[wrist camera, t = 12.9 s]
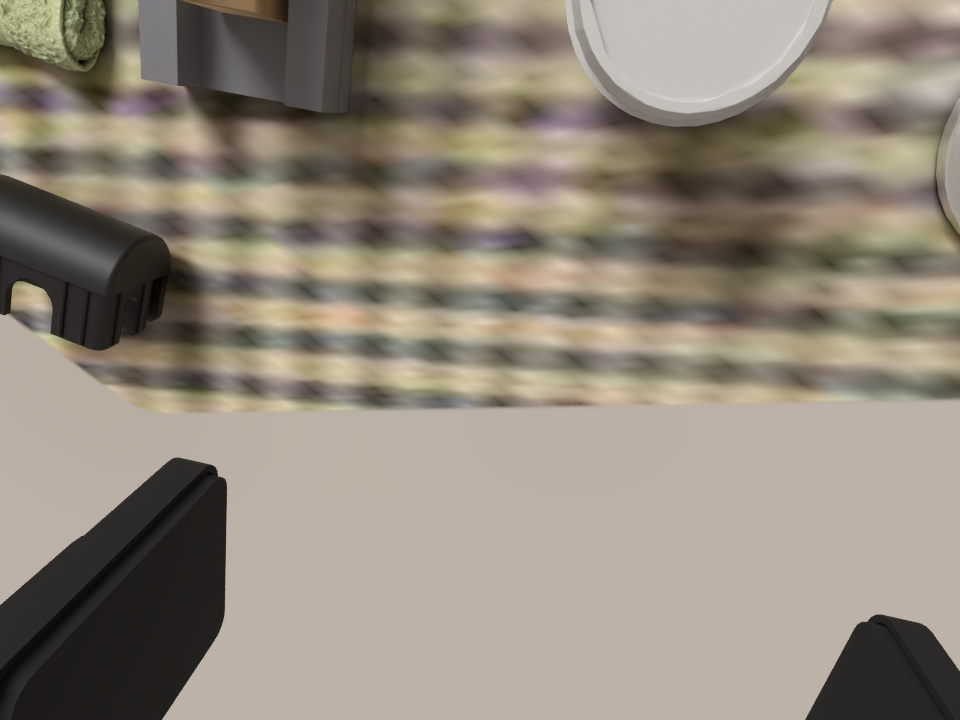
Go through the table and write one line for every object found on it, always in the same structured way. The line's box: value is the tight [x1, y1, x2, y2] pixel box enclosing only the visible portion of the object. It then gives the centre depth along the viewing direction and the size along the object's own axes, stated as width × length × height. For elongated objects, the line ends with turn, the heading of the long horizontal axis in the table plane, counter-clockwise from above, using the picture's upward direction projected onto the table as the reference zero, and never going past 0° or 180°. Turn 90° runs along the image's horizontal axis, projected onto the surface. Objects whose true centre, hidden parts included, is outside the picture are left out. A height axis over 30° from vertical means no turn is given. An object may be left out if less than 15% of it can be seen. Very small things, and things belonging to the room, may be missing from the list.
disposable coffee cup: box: [566, 0, 833, 127], centre depth 27 cm, size 10×10×12 cm
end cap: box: [0, 174, 171, 350], centre depth 38 cm, size 10×7×7 cm
